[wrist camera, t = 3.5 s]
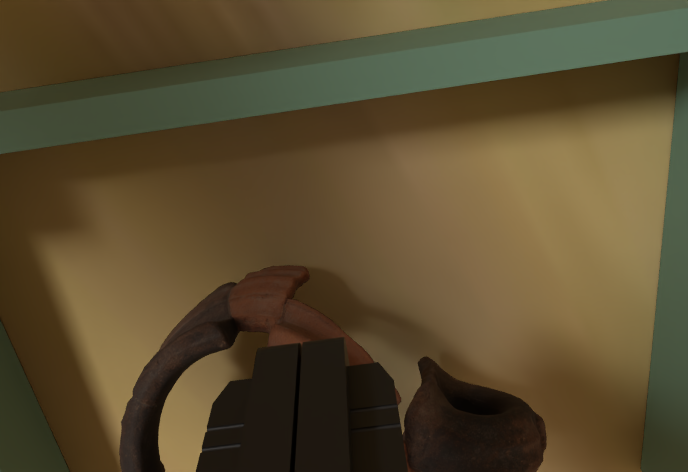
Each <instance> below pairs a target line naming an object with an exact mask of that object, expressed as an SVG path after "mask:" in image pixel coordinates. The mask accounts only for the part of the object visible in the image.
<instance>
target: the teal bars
mask: <svg viewBox="0 0 688 472" xmlns="http://www.w3.org/2000/svg"><path fill="white" fill-rule="evenodd" d="M676 53H680V60H679V71H678V81H677V92H676V102H675V113H674V123H673V134H672V144H671V155H670V165H669V176H668V186H667V197H666V207H665V218H664V228H663V239H662V249H661V260H660V270H659V281H658V291H657V302H656V313H655V323H654V334H653V344H652V355H651V365H650V376H649V386H648V397H647V407H646V418H645V428H644V439H643V449H642V460H641V471H642V472H688V0H608V1H601V2H595V3H588V4H581V5H575V6H568V7H562V8H555V9H548V10H542V11H535V12H529V13H522V14H515V15H509V16H502V17H496V18H489V19H482V20H476V21H469V22H463V23H456V24H449V25H443V26H436V27H430V28H423V29H417V30H410V31H403V32H397V33H390V34H384V35H377V36H370V37H364V38H357V39H351V40H344V41H337V42H331V43H324V44H318V45H311V46H304V47H298V48H291V49H285V50H278V51H271V52H265V53H258V54H252V55H245V56H238V57H232V58H225V59H219V60H212V61H205V62H199V63H192V64H186V65H179V66H172V67H166V68H159V69H153V70H146V71H139V72H133V73H126V74H120V75H113V76H106V77H100V78H93V79H87V80H80V81H73V82H67V83H60V84H54V85H47V86H40V87H34V88H27V89H21V90H14V91H7V92H1V93H0V154H4V153H10V152H17V151H24V150H30V149H37V148H44V147H51V146H57V145H64V144H71V143H78V142H84V141H91V140H98V139H104V138H111V137H118V136H125V135H131V134H138V133H145V132H151V131H158V130H165V129H172V128H178V127H185V126H192V125H199V124H205V123H212V122H219V121H225V120H232V119H239V118H246V117H252V116H259V115H266V114H272V113H279V112H286V111H293V110H299V109H306V108H313V107H319V106H326V105H333V104H340V103H346V102H353V101H360V100H367V99H373V98H380V97H387V96H393V95H400V94H407V93H414V92H420V91H427V90H434V89H440V88H447V87H454V86H461V85H467V84H474V83H481V82H487V81H494V80H501V79H508V78H514V77H521V76H528V75H535V74H541V73H548V72H555V71H561V70H568V69H575V68H582V67H588V66H595V65H602V64H608V63H615V62H622V61H629V60H635V59H642V58H649V57H655V56H662V55H669V54H676ZM0 472H70V471H69V469H68V467H67V465H66V462H65V460H64V458H63V456H62V454H61V451H60V449H59V447H58V445H57V443H56V441H55V438H54V436H53V434H52V432H51V430H50V427H49V425H48V423H47V421H46V419H45V416H44V414H43V412H42V410H41V408H40V405H39V403H38V401H37V399H36V397H35V395H34V392H33V390H32V388H31V386H30V384H29V381H28V379H27V377H26V375H25V373H24V370H23V368H22V366H21V364H20V362H19V360H18V357H17V355H16V353H15V351H14V349H13V346H12V344H11V342H10V340H9V338H8V335H7V333H6V331H5V329H4V327H3V324H2V322H1V320H0Z"/></svg>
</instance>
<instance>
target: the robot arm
mask: <svg viewBox="0 0 688 472" xmlns="http://www.w3.org/2000/svg"><path fill="white" fill-rule="evenodd" d="M196 472H408V468H407V462H406V455H405V449H404V443H403V436H402V430H401V424H400V417H399V411H398V405H397V399H396V392H395V386H394V380H393V379H392V378H391V377H390V376H389V374H388V373H387V372H386V371H385V370H384V369H383V367H382V366H381V365H380V364H379V363H378V362H376V363H368V364H361V365H353V366H350V365H349V358H348V352H347V346H346V341H345V337H338V338H331V339H323V340H315V341H307V342H303V344H302V345H301V343H293V344H285V345H278V346H270V347H262V348H258V350H257V353H256V358H255V364H254V370H253V376H252V379H244V380H236V381H230V382H229V383H228V385H227V386H226V387H225V388H224V390H223V391H222V392H221V394H220V395H219V396H218V397H217V399H216V400H215V401H214V403H213V405H212V409H211V413H210V417H209V421H208V425H207V432H206V433H205V437H204V441H203V445H202V453H200V457H199V461H198V465H197V469H196Z"/></svg>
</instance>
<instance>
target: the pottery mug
mask: <svg viewBox="0 0 688 472" xmlns="http://www.w3.org/2000/svg"><path fill="white" fill-rule="evenodd" d="M309 279H310V276H309V272H308V269H307V268H306V267H304V266H293V265H288V266H272V267H268V268H264V269H262V270H260V271H257V272H252V273H249V274H247V275H246V277H245V278H244V279H243V280H241V281H240V282H239V283H233V282H230V283H227V284H224V285H222V286H220V287H219V288H217V289H216V290H215V291H214V292H213V293H211V294H210V295H208V296H207V297H206V298H205V299H204V300H202V301H201V302H200V303H199V304H198V305H197V306H196V307H195V308H194V309H193V310H191V311H190V312H189V313H188V314H187V315H186V316H185V317H184V318H183V319H182V320H181V321H180V322H179V323H178V324H177V326H176V327H175V328H174V329H173V330H172V331H171V333H170V334H169V335H168V337H167V338H166V339H165V341H164V343H163V344H162V346H161V348H160V350H159V351H158V352H157V353H156V355H155V356H154V357H153V358H152V359H151V360H150V362H149V363H148V364H147V365H146V366H145V367H144V369H143V371H142V373H141V375H140V376H139V378H138V380H137V382H136V384H135V386H134V388H133V397H132V398H131V399H130V400H129V402H128V403H127V407H126V411H125V414H124V416H123V419H122V422H121V423H122V432H121V440H120V450H119V455H120V465H121V470H122V472H165V469H164V465H163V464H162V462H161V461H160V455H159V447H158V430H159V423H160V416H161V413H162V409H163V406H164V403H165V400H166V398H167V396H168V394H169V392H170V391H171V389H172V388H173V386H174V384H175V383H176V381H177V380H178V378H179V377H180V376H181V374H182V373H183V372H184V371H185V370H186V369H187V368H188V367H189V366H190V365H192V364H193V363H195V362H196V361H198V360H199V359H201V358H203V357H205V356H207V355H209V354H212V353H215V352H218V351H221V350H225V349H228V348H230V347H231V346H232V345H233V344H234V342H235V339H236V337H237V335H238V333H239V332H240V331H247V332H258V331H260V332H266V333H269V339H268V345H267V346H268V347H270V346H278V345H285V344H293V343H301V345H302V344H303V342H307V341H315V340H323V339H331V338H338V337H345V341H346V346H347V352H348V358H349V365H350V366H353V365H361V364H368V363H374V361H373V359H372V358H371V357H370V355H369V354H368V353H367V352H366V351H365V350H364V349H363V348H362V347H361V346H360V345H358V344H357V343H356V342H355V341H353V339H351V338H350V337H349V336H348V335H347V334H346V333H345V332H343V331H342V330H341V328H340V327H339V326H337V325H336V324H335V323H334V322H333V321H332V320H330V319H329V318H328V317H326V316H325V315H323V314H322V313H321V312H319V311H317V310H315V309H314V308H312V307H310V306H308V305H306V304H304V303H301V302H299V301H297V300H293V299H292V298H293V296H294V294H295V291H296V290H297V288H298V287H300V286H302V285H303V283H305V282H307V281H308V280H309ZM418 366H419V370H420V374H421V379H422V383H421V387H420V388H419V389H418V390H417V392H416V393H415V395H414V398H413V400H412V402H411V403H410V405H409V408H408V410H407V412H406V415H405V420H404V427H405V431H404V433H403V435H402V436H403V443H404V449H405V455H406V462H407V468H408V472H536V471H537V470H538V468H539V466H540V465H541V463H542V461H543V453H544V450H545V449H546V431H545V424H544V421H543V419H542V418H541V417H540V416H539V415H538V414H536V413H535V412H534V411H533V410H532V409H531V408H530V407H529V405H528V404H527V403H525V402H524V401H523V400H521V399H520V398H517V397H515V396H513V395H511V394H508V393H505V392H502V391H498V390H494V389H490V388H487V387H482V386H478V385H473V384H469V383H465V382H462V381H459V380H457V379H455V378H453V377H452V376H450V375H449V374H448V373H446V372H445V371H444V370H443V369H442V368H441V367H440V366H439V365H438V364H437V363H436V362H435V361H434V360H432V359H430V358H429V357H423V358H422V359H420V361H419V362H418ZM395 392H396V399H397V405H399V403H400V402H401V397H400V395H399V393H398V391H397V390H396V388H395Z"/></svg>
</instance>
